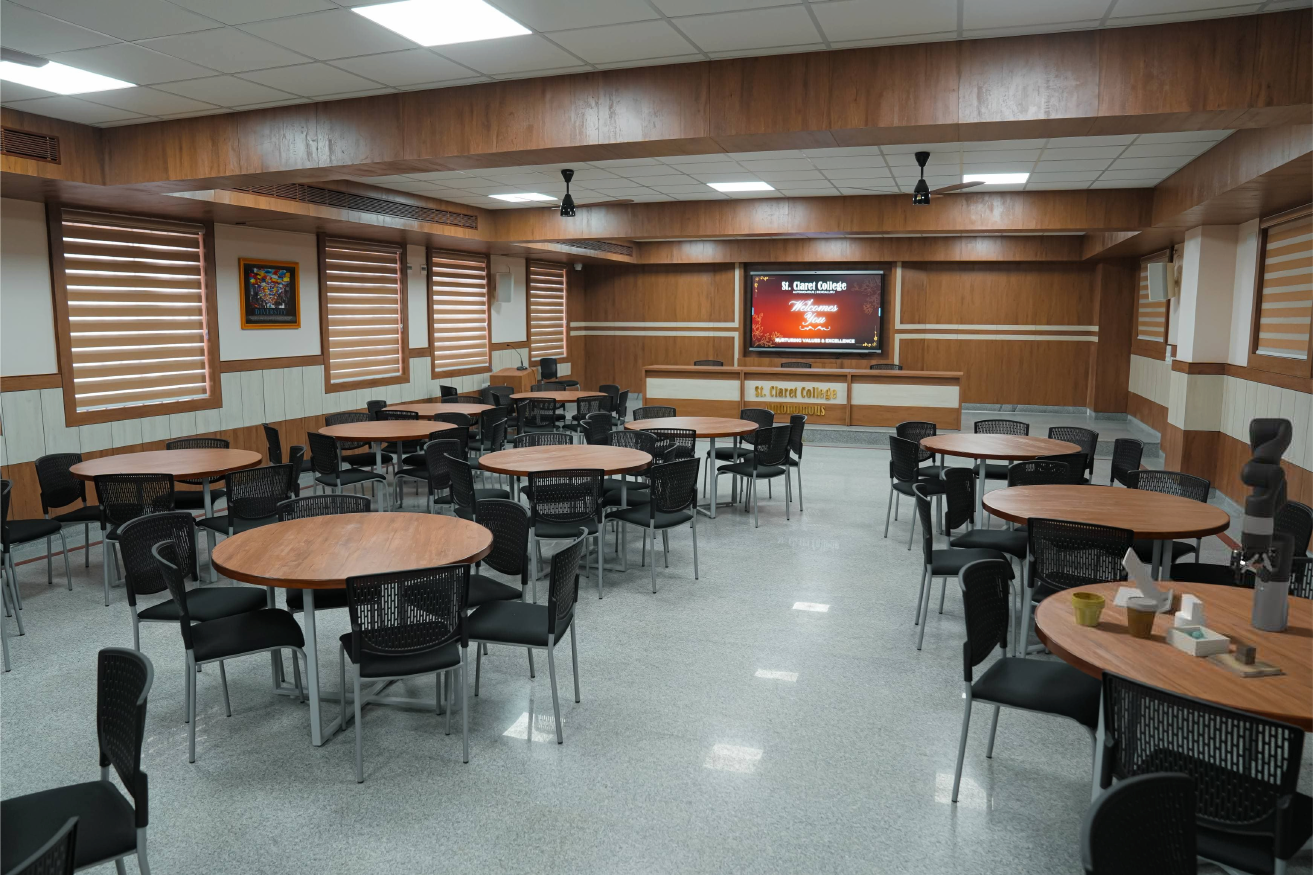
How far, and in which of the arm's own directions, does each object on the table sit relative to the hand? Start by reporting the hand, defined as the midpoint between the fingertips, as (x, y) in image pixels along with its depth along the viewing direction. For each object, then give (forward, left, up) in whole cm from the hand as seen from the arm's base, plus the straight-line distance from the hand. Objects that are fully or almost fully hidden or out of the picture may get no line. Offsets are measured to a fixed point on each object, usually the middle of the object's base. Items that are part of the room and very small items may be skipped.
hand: (1252, 583), depth 254 cm
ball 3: (+3, -12, -23) cm, 26 cm away
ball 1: (+6, -17, -23) cm, 29 cm away
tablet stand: (-13, -58, -26) cm, 65 cm away
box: (+3, -15, -26) cm, 30 cm away
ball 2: (+1, -17, -23) cm, 29 cm away
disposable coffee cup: (+13, -28, -26) cm, 40 cm away
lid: (0, 0, -26) cm, 26 cm away
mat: (0, 0, -26) cm, 26 cm away
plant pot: (+23, -41, -26) cm, 54 cm away
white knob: (-5, -27, -26) cm, 38 cm away
